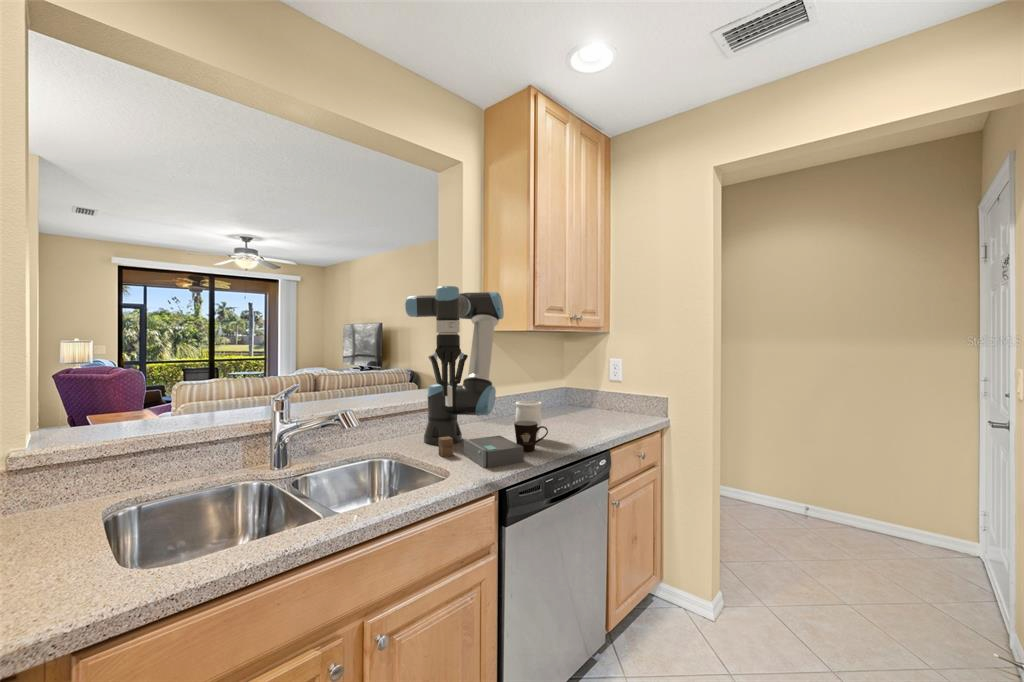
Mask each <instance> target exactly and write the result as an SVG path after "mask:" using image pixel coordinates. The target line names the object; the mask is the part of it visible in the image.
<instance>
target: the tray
mask: <svg viewBox="0 0 1024 682" xmlns="http://www.w3.org/2000/svg"><path fill="white" fill-rule="evenodd" d="M468 439H469V438H463V455H464V456H465V457H467V458H468V459H470V460H471V461H472V462H474V463H476V464H477V465H478V466H480V467H482V468H483V469H484V468H485V469H486V468H487V467H486V464H487V457H486V450H485V449H484V448H482V447H480V446H478V445H477V444H475V443H473V442H471V441H470V440H468Z"/></svg>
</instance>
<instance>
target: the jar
mask: <svg viewBox="0 0 1024 682" xmlns="http://www.w3.org/2000/svg"><path fill="white" fill-rule="evenodd" d="M515 406H516V410H515V422H517V421H535V422H537V423H538V425H537V428H538V427H541V426H542V409H541V406H542V402H541V401H537V400H518V401H516V402H515ZM540 431H541V428H540V429H539V430H538V432H537V434H536V441H537V440H539V439H540V437H539V434H540Z"/></svg>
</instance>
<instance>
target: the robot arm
mask: <svg viewBox="0 0 1024 682" xmlns="http://www.w3.org/2000/svg"><path fill="white" fill-rule="evenodd" d="M404 307H405V313H406V314H407V316H408V317H411V318H428V317H429V318H430V317H432V318H433V317H435V318H436V322H435V323H436V326H435V327H436V333H437V334H436V348H435V351H434V353H432V354H431V355H429V356H428V359H429V360H430V362H431V366H432V369H433V374H434V376H435V381H436V383H433V384H430V385H429V386H428V388H427V424H426V426H425V431H424V433H423V443H425V444H429V445H434V446H435V445H438V446H439V438H440V437H448V436H449V437H451V438H453V444H456V443H459V442H461V441H462V439H463V434H462V431H461V427H460V425H459V422H458V415H459V416H476V417H480V416H489V415H490V414H491V413H492V411H493V410H494V407H495V404H496V398H497V397H496V394H497V393H496V392H497V390H496V387H495V386H493V382H492V381H491V379H490V371H491V365H492V364H491V363H492V351H493V344H494V333H495V327H497V326H498V325H499V321H500V320H503V318H504V304H503V299H502V296H501V294H500V293H499V292H496V291H494V292H493V291H488V292H487V291H486V292H485V291H483V292H460V288H459V287H458V286H454V285H441V286H437V287H436V289H435V295H410V296H409V295H408V297H406V300H405V303H404ZM460 319H462V320H470V321H471V323H472V324H473V325H474V326H473V330H472V331H473V333H472V340H471V349H470V355H469V364H468V372H467V377H465V378H464V379H463V381H462V377H463V373H464V367H465V363H466V360H467V359H468V354H464V352H462V349H461V347H460V345H461V343H460V341H461V338H460V337H461V336H460V334H458V333H460V329H461V328H460V327H461V326H460ZM458 358H459V359H458ZM438 359H439V361H441V362H440V363H441V372H440V367H439V363H438ZM457 360H459V361H458V364H456V361H457ZM456 365H457V368H456ZM448 366H449V367H448ZM461 381H462V382H463V383H462V385H460V384H461Z"/></svg>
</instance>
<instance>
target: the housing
mask: <svg viewBox="0 0 1024 682" xmlns="http://www.w3.org/2000/svg"><path fill="white" fill-rule="evenodd" d="M467 439H468V440H470V441H471V442H473V443H475V444H477V445H478V446H480V447H482V448H484V449H485V450H486V453H487V464H486V467H485V468H495V467H501V466H508V465H512V464H513V465H514V464H520V463H524V452H523V446H521V445H519V444H517V442H516V441H513V440H511V439H508V438H506V437H504V436H503V435H500V434H499V435H494V436H484V437H478V438H470V439H469V438H467Z"/></svg>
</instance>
